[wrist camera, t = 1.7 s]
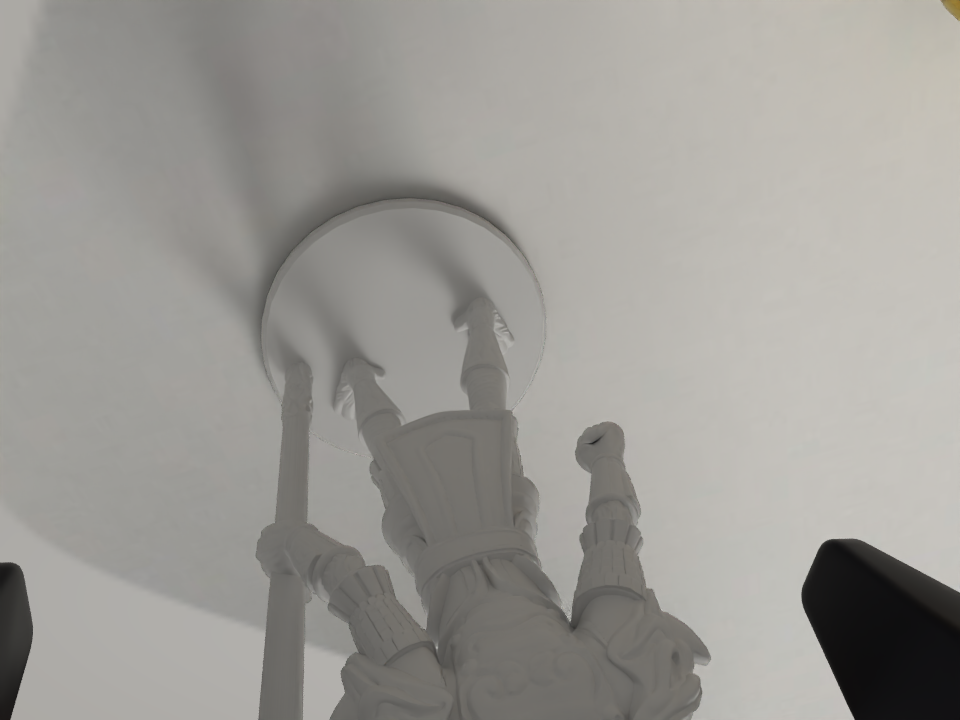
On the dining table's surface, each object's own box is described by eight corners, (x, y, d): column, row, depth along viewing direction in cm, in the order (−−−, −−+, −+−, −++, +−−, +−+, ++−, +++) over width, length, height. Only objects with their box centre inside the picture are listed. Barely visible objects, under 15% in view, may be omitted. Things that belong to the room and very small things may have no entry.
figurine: (298, 477, 14) (241, 1777, 4) (226, 225, 12) (-454, 1951, 1) (551, 426, 15) (1080, 1430, 5) (533, 176, 13) (1608, 1130, 2)
